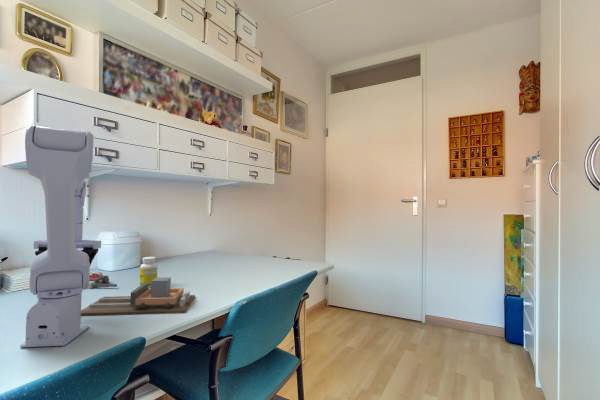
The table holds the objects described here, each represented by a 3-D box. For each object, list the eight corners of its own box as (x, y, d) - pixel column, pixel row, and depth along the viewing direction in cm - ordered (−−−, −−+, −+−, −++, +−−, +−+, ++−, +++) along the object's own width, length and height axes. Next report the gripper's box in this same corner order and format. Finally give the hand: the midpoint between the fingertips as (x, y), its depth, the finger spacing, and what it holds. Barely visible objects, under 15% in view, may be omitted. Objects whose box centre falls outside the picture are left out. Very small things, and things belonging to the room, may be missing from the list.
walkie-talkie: (54, 289, 101) (114, 290, 100) (55, 275, 101) (115, 277, 100) (74, 282, 109) (129, 283, 109) (75, 270, 110) (130, 271, 109)
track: (184, 312, 80) (185, 302, 80) (76, 315, 77) (76, 305, 77) (194, 296, 94) (195, 288, 94) (103, 298, 90) (103, 290, 90)
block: (166, 299, 84) (166, 280, 84) (150, 299, 84) (151, 280, 84) (170, 294, 88) (170, 277, 88) (155, 295, 88) (156, 277, 88)
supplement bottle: (139, 284, 107) (140, 256, 107) (157, 283, 109) (157, 255, 109) (139, 288, 102) (140, 259, 102) (157, 287, 104) (158, 258, 104)
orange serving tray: (174, 308, 81) (174, 292, 81) (129, 309, 80) (129, 293, 80) (184, 295, 93) (184, 281, 93) (144, 296, 91) (145, 282, 91)
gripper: (107, 223, 83) (105, 273, 82) (47, 222, 80) (45, 274, 80) (94, 224, 76) (91, 279, 75) (28, 223, 73) (25, 280, 73)
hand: (67, 277), depth 77 cm, fingers open, 7 cm apart
